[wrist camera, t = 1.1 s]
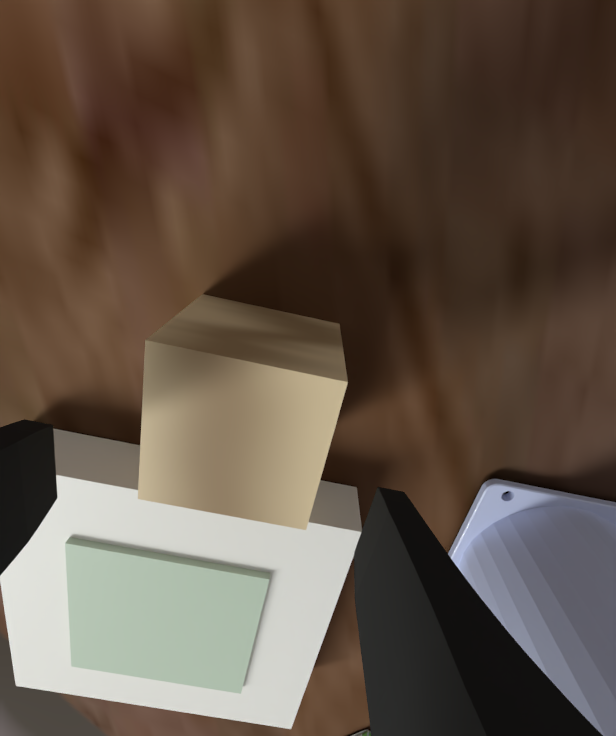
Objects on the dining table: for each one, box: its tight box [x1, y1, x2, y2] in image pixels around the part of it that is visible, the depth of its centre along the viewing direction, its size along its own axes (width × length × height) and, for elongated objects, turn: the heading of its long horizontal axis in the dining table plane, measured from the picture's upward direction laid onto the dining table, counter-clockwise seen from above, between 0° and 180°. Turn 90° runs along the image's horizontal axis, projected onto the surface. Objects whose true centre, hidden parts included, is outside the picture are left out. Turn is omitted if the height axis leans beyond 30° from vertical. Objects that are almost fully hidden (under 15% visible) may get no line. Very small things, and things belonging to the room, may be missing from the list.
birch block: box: [138, 294, 348, 530], centre depth 13 cm, size 5×5×5 cm
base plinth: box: [0, 429, 362, 729], centre depth 18 cm, size 14×14×3 cm
